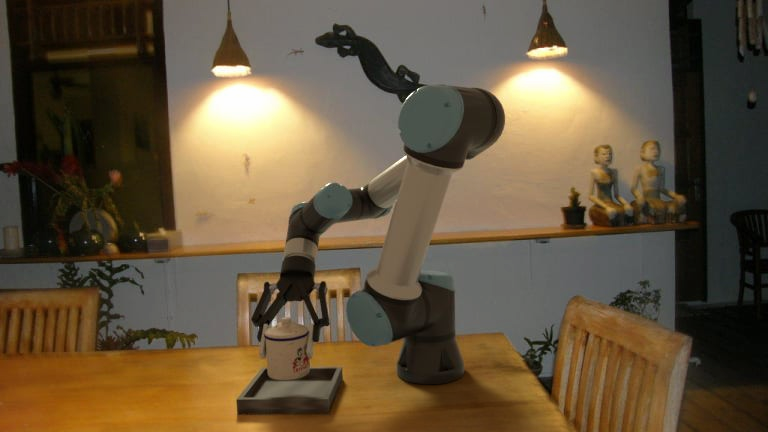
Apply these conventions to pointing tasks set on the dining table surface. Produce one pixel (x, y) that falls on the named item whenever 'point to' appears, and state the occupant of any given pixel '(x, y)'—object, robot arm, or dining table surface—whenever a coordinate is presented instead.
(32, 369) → the dining table surface
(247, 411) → the tea tray
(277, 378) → the teacup with lid
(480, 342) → the dining table surface
